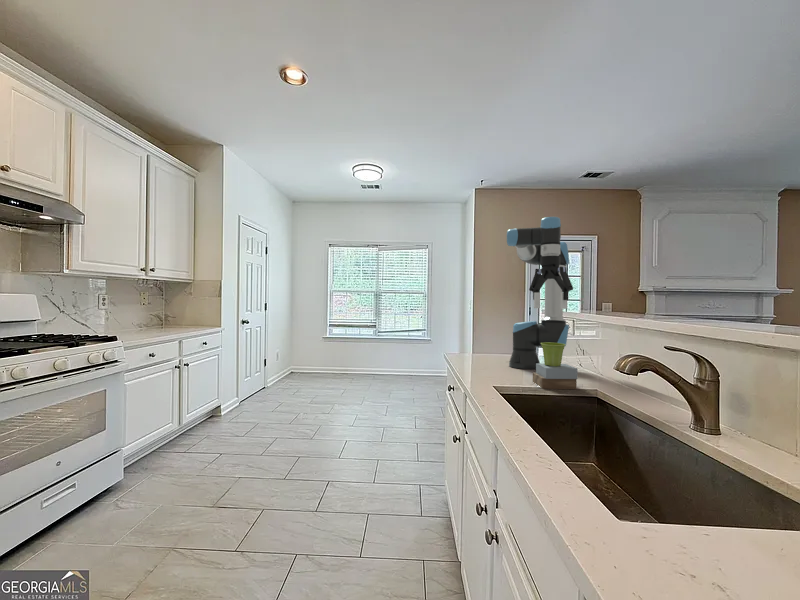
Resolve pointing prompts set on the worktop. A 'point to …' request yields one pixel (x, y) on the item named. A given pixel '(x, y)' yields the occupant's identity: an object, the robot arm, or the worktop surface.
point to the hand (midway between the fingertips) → (550, 308)
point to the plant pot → (552, 353)
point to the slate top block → (557, 371)
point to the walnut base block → (554, 382)
